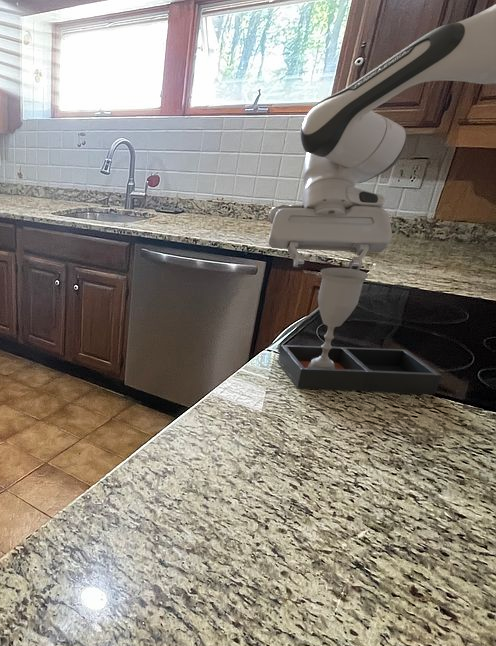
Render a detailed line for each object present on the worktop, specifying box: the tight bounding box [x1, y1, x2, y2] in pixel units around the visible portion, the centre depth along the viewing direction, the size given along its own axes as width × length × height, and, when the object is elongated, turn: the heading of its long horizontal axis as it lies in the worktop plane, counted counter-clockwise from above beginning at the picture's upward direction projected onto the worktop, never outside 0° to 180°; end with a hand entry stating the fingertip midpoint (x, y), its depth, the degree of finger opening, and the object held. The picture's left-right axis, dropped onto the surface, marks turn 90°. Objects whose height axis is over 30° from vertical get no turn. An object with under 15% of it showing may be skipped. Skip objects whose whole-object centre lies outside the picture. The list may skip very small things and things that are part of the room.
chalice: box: [306, 267, 369, 369], centre depth 90 cm, size 7×7×18 cm
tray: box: [277, 344, 443, 396], centre depth 92 cm, size 21×11×4 cm, turn 81°
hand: (326, 267), depth 97 cm, fingers open, 8 cm apart
